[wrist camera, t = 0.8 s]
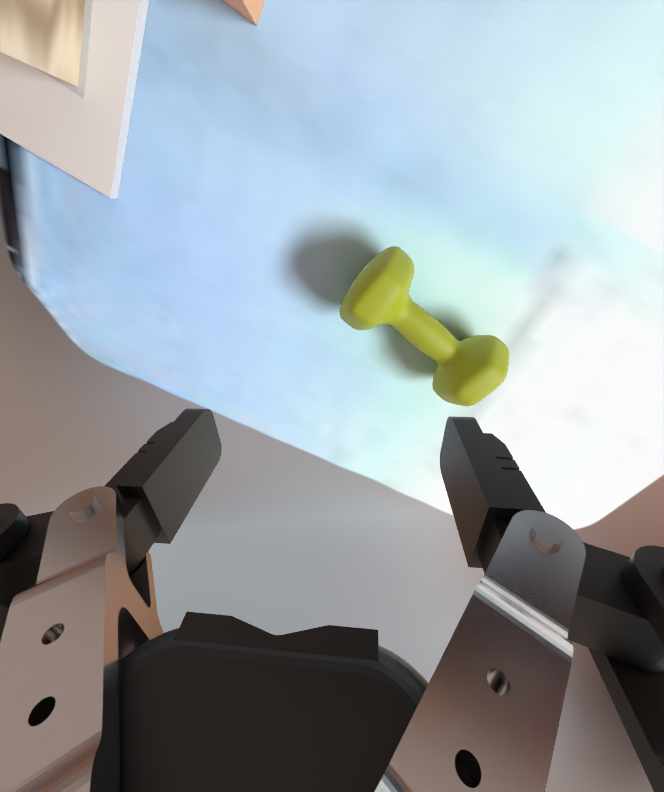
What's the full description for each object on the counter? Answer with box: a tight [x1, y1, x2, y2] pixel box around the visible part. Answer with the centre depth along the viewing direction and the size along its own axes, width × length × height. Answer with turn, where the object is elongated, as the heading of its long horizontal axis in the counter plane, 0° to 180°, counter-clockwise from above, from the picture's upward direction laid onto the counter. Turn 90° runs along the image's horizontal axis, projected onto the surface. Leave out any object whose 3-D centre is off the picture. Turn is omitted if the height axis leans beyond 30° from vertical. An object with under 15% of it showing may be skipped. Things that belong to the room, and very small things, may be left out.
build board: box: [0, 0, 149, 199], centre depth 22 cm, size 20×14×1 cm
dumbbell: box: [340, 246, 509, 406], centre depth 29 cm, size 16×8×7 cm, turn 52°
